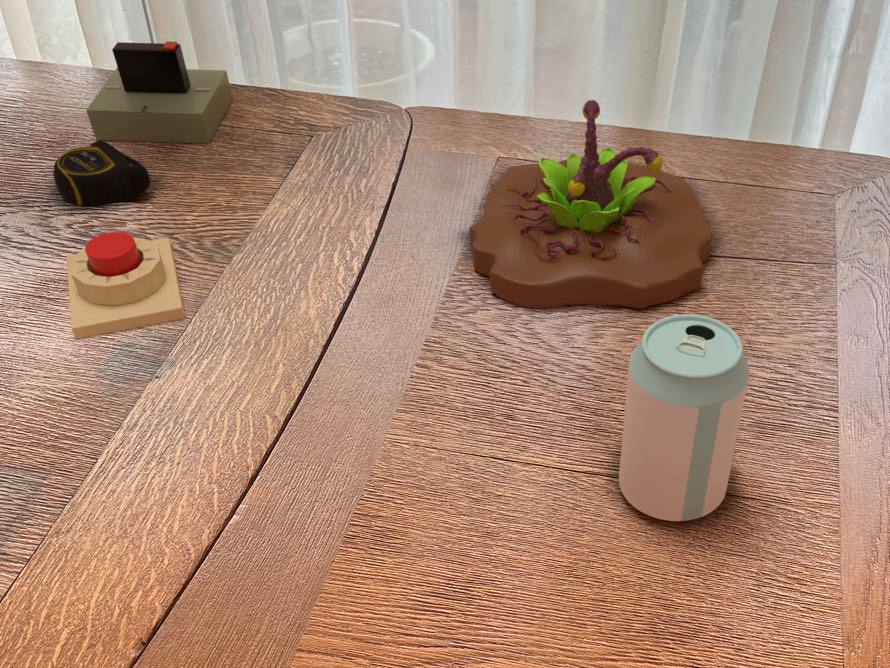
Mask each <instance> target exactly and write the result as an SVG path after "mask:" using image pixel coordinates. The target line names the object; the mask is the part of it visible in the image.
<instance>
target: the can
mask: <svg viewBox="0 0 890 668" xmlns="http://www.w3.org/2000/svg"><path fill="white" fill-rule="evenodd" d="M743 350H744V347H743V343H742V339H741V338H740V336H739V335H738V334H737V333H736V331H735V330H734V329H732V327H730V326H729V325H727V324H726V323H724V322H722V321H720V320H719V319H715V318H713V317H710V316H706V315H701V314H691V313H684V314H682V313H681V314H675V315H674V314H673V315H670V316H667V317H663V318H661V319H659V320H657V321H655V322H653V323H652V324H651V325H649V327H647V328H646V329H645V331H644V333H643V335H642V339H641V340H640V342H639V343H638V344H637V345H636V346H635V347H634V349H633V350H632V352H631V355H630V356H629V361H628V368H627V369H628V370H627V379H626V381H627V382H626V392H625V393H626V394H625V403H624V415H623V426H622V439H621V451H620V462H619V471H618V472H619V473H618V485H619V488H620V492H621V493H622V495H623V497H624V498H625V499H626V501H627V502H628V504H630V505H631V506H632V507H634V508H635V509H636V510H637V511H639V512H641V513H643V514H645V515H647V516H650V517H652V518H655V519H659V520H663V521H669V522H685V521H686V522H687V521H692V520H695V519H699V518H702V517H705V516H707V515H708V514H711V513H712V512H713V511H715V510H716V509H717V508H718V507H719V506H720V505H721V503H722V502H723V500H724V499H725V497H726V493H727V489H728V484H729V479H730V474H731V470H732V463H733V459H734V454H735V449H736V444H737V439H738V433H739V429H740V425H741V420H742V419H741V418H742V415H743V409H744V404H745V400H746V394H747V390H748V384H749V380H750V367H749V362H748V360H747V358H746V355H745V354H744V351H743Z"/></svg>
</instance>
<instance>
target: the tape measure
mask: <svg viewBox="0 0 890 668" xmlns="http://www.w3.org/2000/svg"><path fill="white" fill-rule="evenodd" d="M52 172H53V173H52V176H53V179H54V183H55V185H56V188H57V191H58V193H59V195H60V196H61V198H62V199H64V201H66V202H69V203H71V204H72V205H73V204H74V205H77V206H81V207H84V208H88V207H94V208H96V207H102V206H108V205H112V204H116V203H122V204H124V203H128V202H129V201H130V200H132V199H133V198H135V197H137V196H138V195H141V194H142V193H144V192H146V191H147V190H148V189H149V187H150V186H151V178H150V175H149V172H148V170H147V168H146V167H145V166H144V165H143V164H142V163H140V161H138V160H137V159H134V158H133V157H130V156H129V155H127V154H125V153H123V152H122V151H121V150H119V149H117V148H116V147H114V146H113V145H112V144H110V143H109V142H107V141H106V140H96V141H95V142H92V143H91V144H90V145H87V146H79V147H75V148H72V149H70V150H68V151H66V152H64V153H62V155H60V156H59V157H58V158H57V159H56V160H55V161H54V164H53V171H52Z"/></svg>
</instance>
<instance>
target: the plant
mask: <svg viewBox="0 0 890 668" xmlns="http://www.w3.org/2000/svg"><path fill="white" fill-rule="evenodd" d="M600 106H601V105H600V104H599V102H598V101H597V100H595V99H588V100H587V101H586V102H584V103H583V107H582V115H583V117H584V119H586V131H585V132H584V136H585V141H584V146H585V147H584V149H583V153H584V155H583V156H582V157H580V156H579V155H578V154H576V153H574V152H571V153H569V154H568V156H567V159H564V160H561V161H556V160H554V159H550V158H546V157H540V158H539V159H538V163H528V164H521V165H510V166H509V167H508V168H507V170H505V171H504V172H503V173H502V174H501V175H499V178H498V179H497V181H496V183H495V185H493V186H492V187H491V189H490V190H489V191H488V193H487V195H486V199H485V205H484V211H483V215H482V217H481V218H480V220H478V222H476V223H474V224H473V225H471V226H469V245H470V249H472V262H473V269H474V270H475V272H477V273H479V274H481V275H484V276H486V277H489V287H490V292H491V293H492V294H494V295H495V296H498V297H499V298H501V299H502V300H504V301H507V302H509V303H511V304H515V305H517V306H521V307H525V308H531V309H532V308H533V309H535V308H536V309H537V308H538V309H539V308H540V309H543V308H544V309H545V308H556V307H564V306H573V305H597V306H598V305H599V306H620V307H626V308H632V309H637V310H639V309H640V310H641V309H646V308H649V307H651V306H654V305H660V304H666V303H669V302H673V301H675V300H677V299H679V298H680V297H681V296H684V295H686V294H688V293H690V292H691V293H692V292H695V291H698V290H700V288H702V287H701V286H702V279H703V272H704V271H703V270H704V264H703V263H704V262H706V261H707V260H708V259H709V257H710V255H711V249H712V241H713V234H712V231H711V228H710V226H709V224H708V223H707V219H706V218H705V215H704V214H703V211H702V208H701V206H700V203H699V201H698V199H697V196H696V194H695V191H694V190H693V188H692V187H691V186H690V184H689V183H688V181H687V180H686V179H685V178H683V177H681V176H677V175H674V174H673V173H669V172H666V171H663V170H661V169H662V167H663V158H662V156H661V154H660V153H659V152H657V151H655V150H653V149H652V148H650V147H646V148H645V147H643V146H641V147H636V146H635V147H628V148H627V149H625V150H622V151H620V152H619V153H618V154H616V153H615V151H614V149H613V148H612V147H606V148H603V149H602V150H600V151H598V142H597V141H598V140H597V139H598V137H597V125H596V120H597V118H598V117H599V116H600V114H601V107H600ZM636 156H641V157H643V159H644V163H645V164H640V163H636V162H629V161H628V160H627V159H628V158H632V157H636Z"/></svg>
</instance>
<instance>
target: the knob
mask: <svg viewBox="0 0 890 668" xmlns="http://www.w3.org/2000/svg"><path fill="white" fill-rule="evenodd" d="M111 51H112V54H113V58H114V60H115V63H116V68H117V67H118V71H119V74H120V77H121V81H122V84H123V87H124V90H125V92H160V93H187V91H188V89H189V88H190V86H191V85H190V81H189V77H188V73H187V66H186V62H185V58H184V53H183V49H182V46H181V44H180V43H178V42H177V41H166V42H165V43H160V42H159V43H157V42H156V43H154V42H153V43H152V42H122V41H121V42H119V41H117V42H116V44H115V45H114V46H113V47H112V50H111Z"/></svg>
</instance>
